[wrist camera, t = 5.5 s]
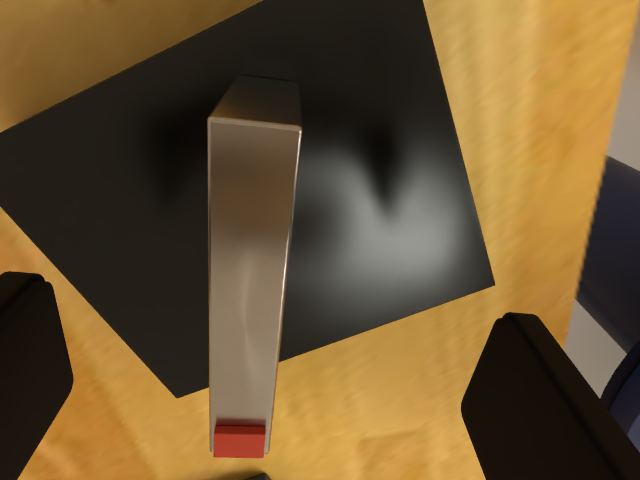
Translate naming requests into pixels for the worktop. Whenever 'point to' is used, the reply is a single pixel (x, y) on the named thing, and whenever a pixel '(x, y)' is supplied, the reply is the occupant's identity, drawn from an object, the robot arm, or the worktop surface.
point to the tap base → (312, 186)
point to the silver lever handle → (249, 255)
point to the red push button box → (260, 477)
